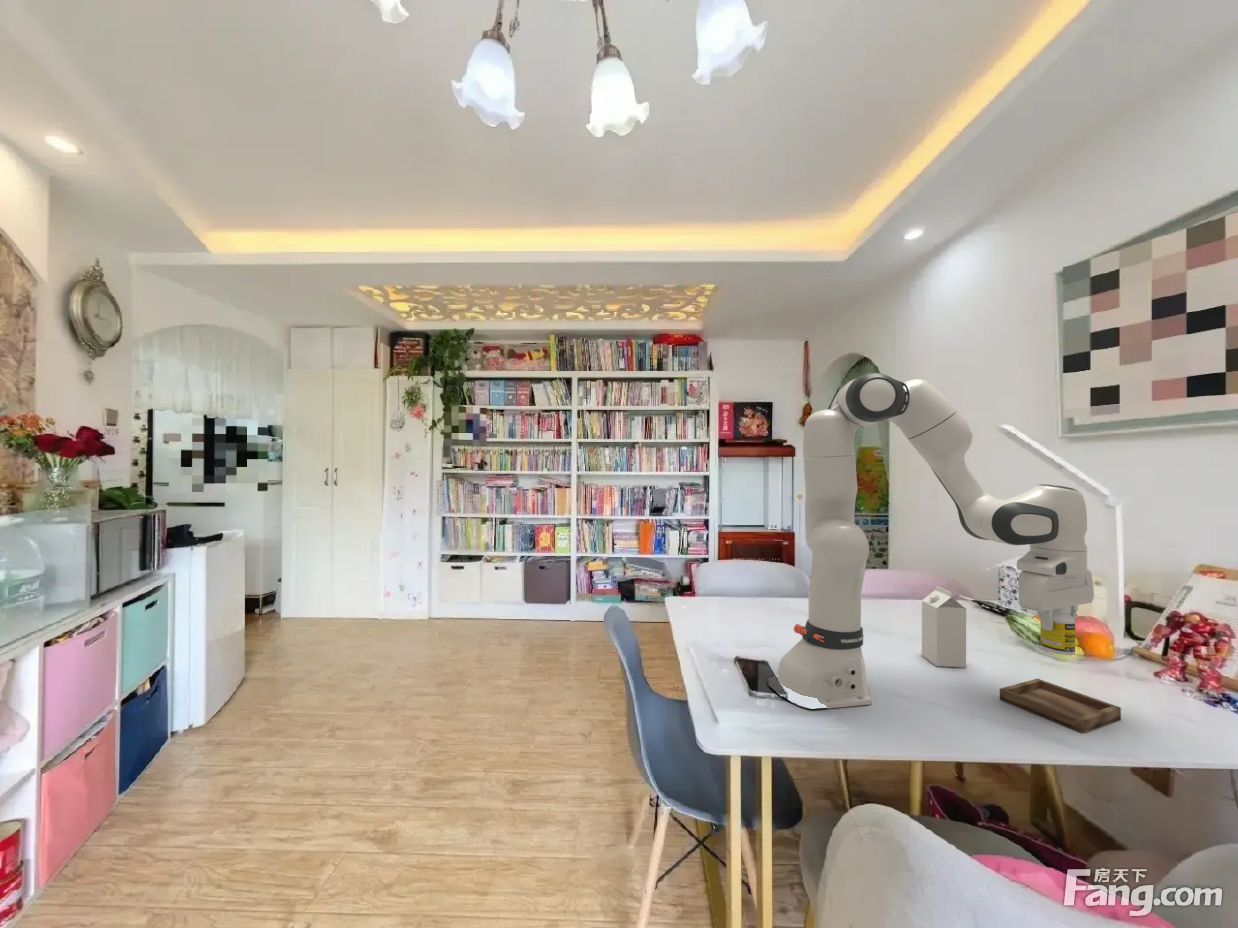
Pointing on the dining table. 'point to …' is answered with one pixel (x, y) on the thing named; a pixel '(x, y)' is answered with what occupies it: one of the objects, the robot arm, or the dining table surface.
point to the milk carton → (943, 629)
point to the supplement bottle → (1060, 633)
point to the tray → (1061, 705)
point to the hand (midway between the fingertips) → (1057, 627)
